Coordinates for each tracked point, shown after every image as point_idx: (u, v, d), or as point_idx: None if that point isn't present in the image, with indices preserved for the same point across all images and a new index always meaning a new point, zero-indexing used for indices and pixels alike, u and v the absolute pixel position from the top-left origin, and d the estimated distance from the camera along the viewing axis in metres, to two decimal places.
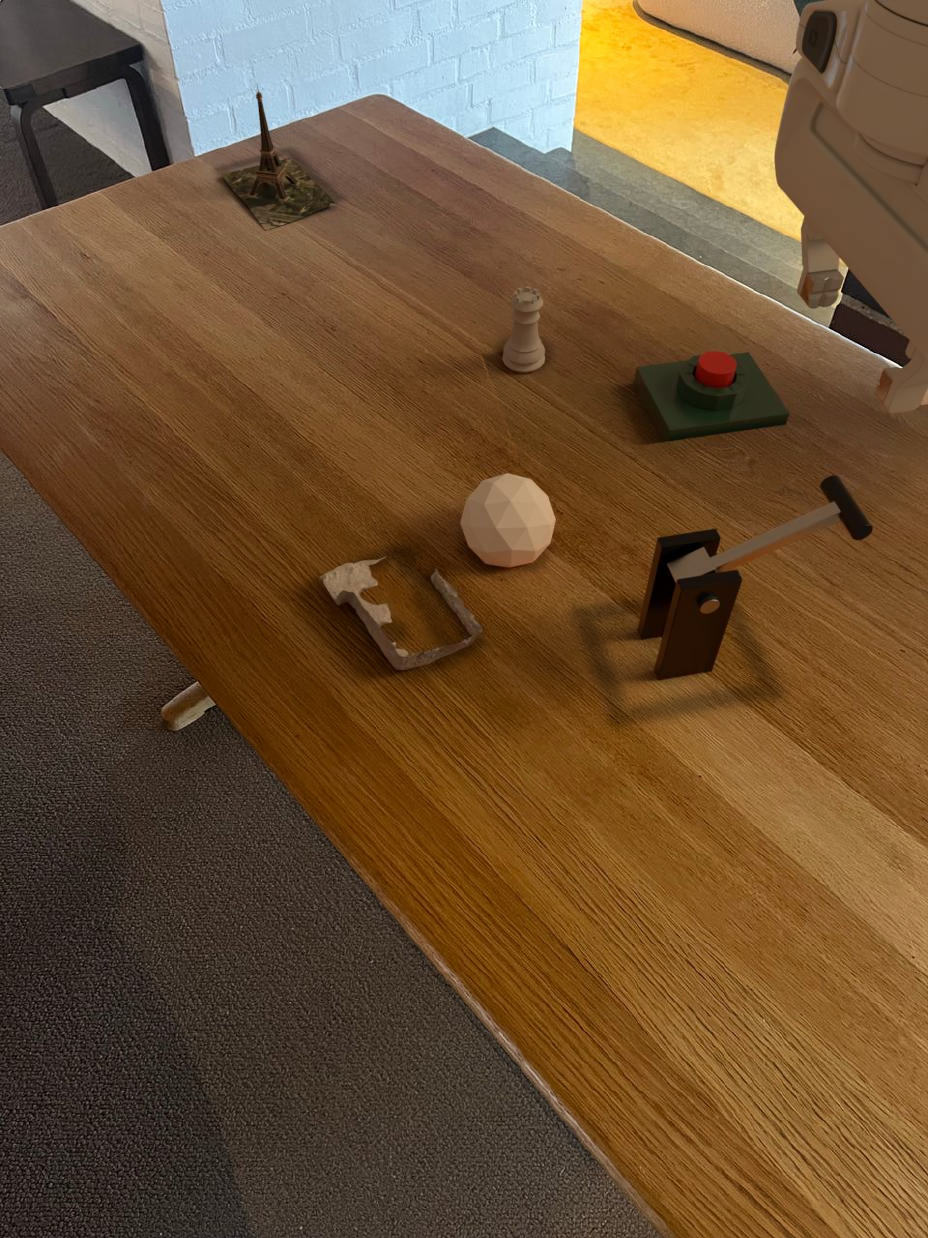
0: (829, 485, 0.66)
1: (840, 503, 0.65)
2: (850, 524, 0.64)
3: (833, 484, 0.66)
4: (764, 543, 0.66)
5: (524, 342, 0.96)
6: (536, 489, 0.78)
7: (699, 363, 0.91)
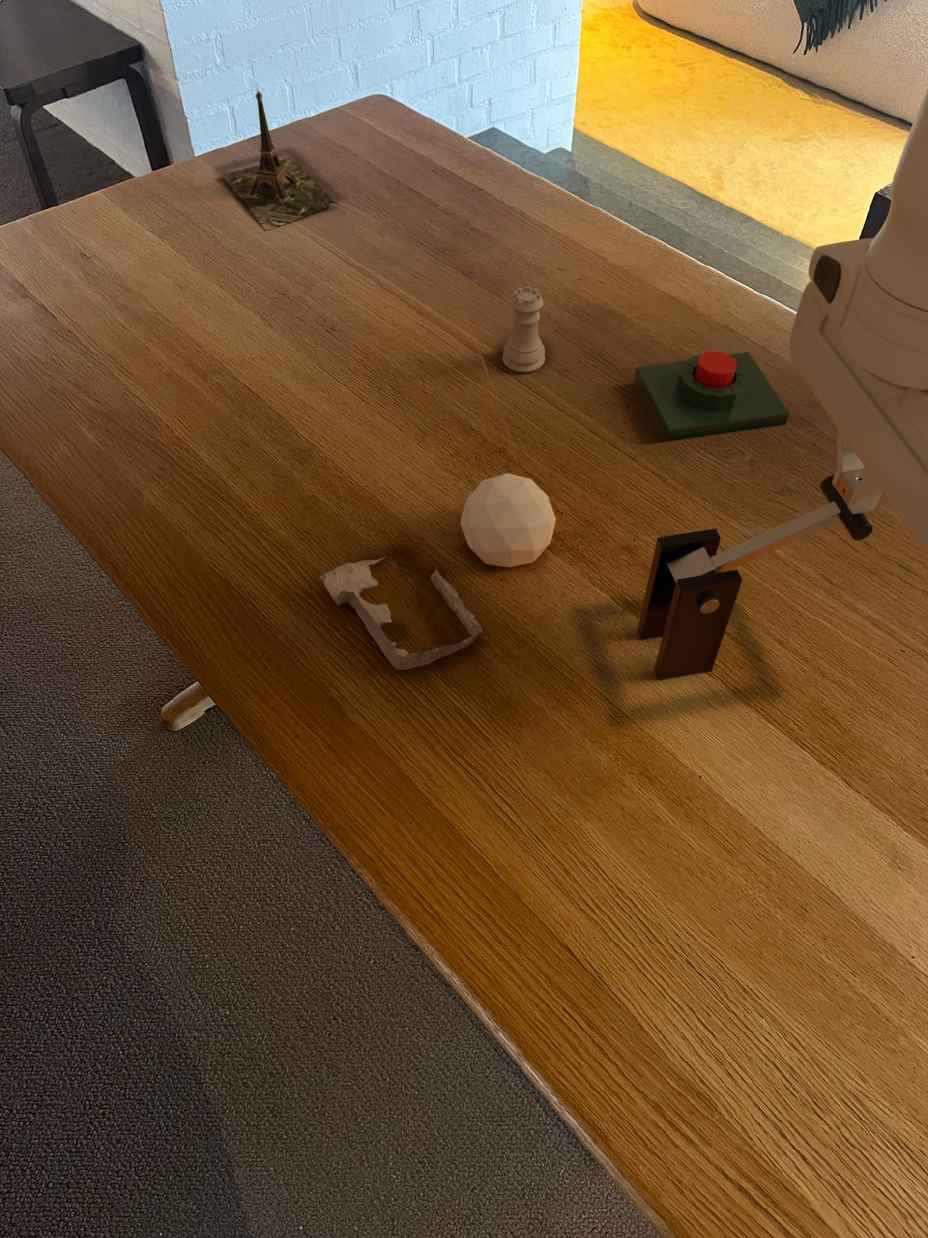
0: (829, 485, 0.66)
1: (840, 503, 0.65)
2: (850, 524, 0.64)
3: None
4: (764, 543, 0.66)
5: (524, 342, 0.96)
6: (536, 489, 0.78)
7: (699, 363, 0.91)
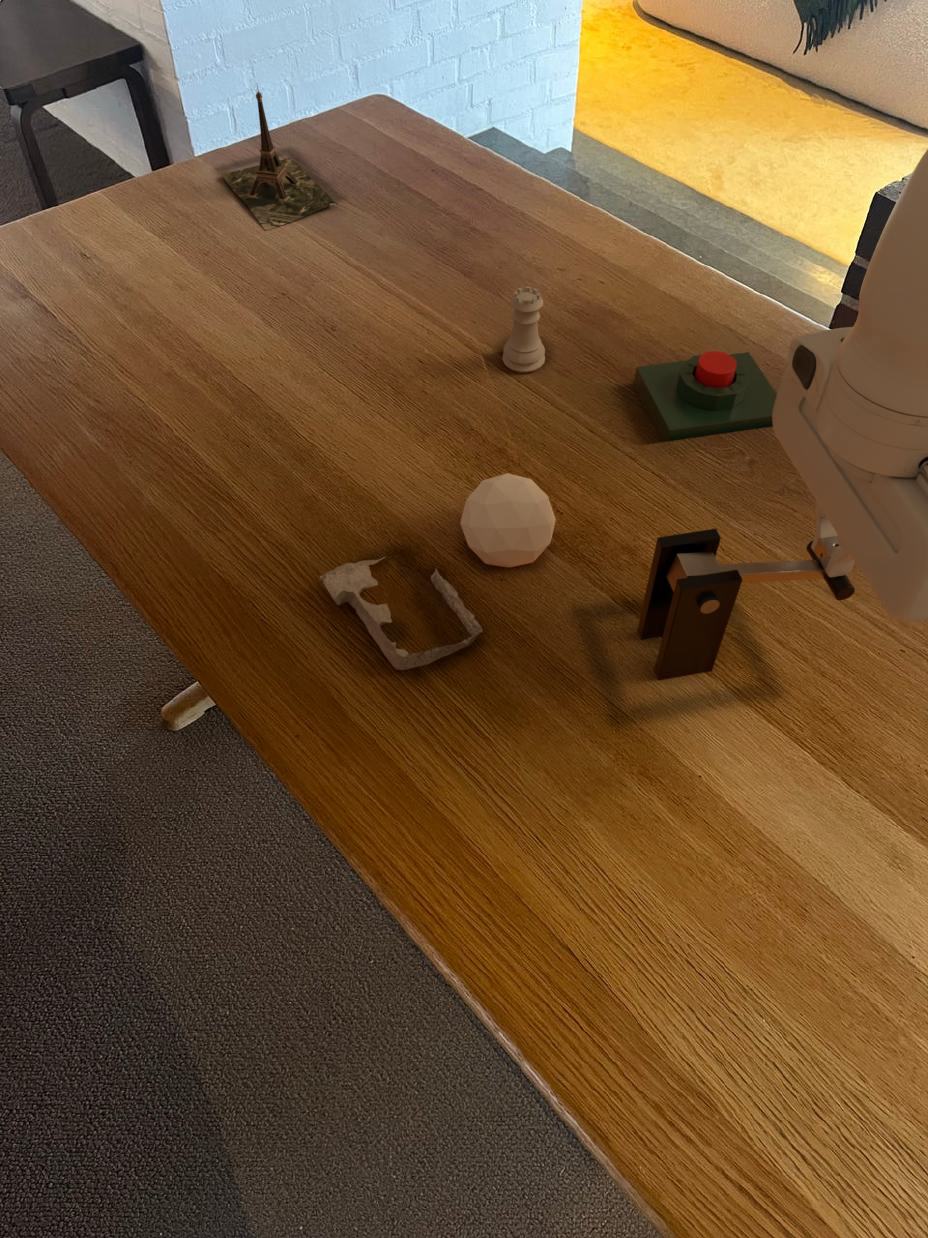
0: None
1: None
2: (838, 582, 0.69)
3: None
4: (763, 570, 0.68)
5: (524, 342, 0.96)
6: (536, 489, 0.78)
7: (699, 363, 0.91)
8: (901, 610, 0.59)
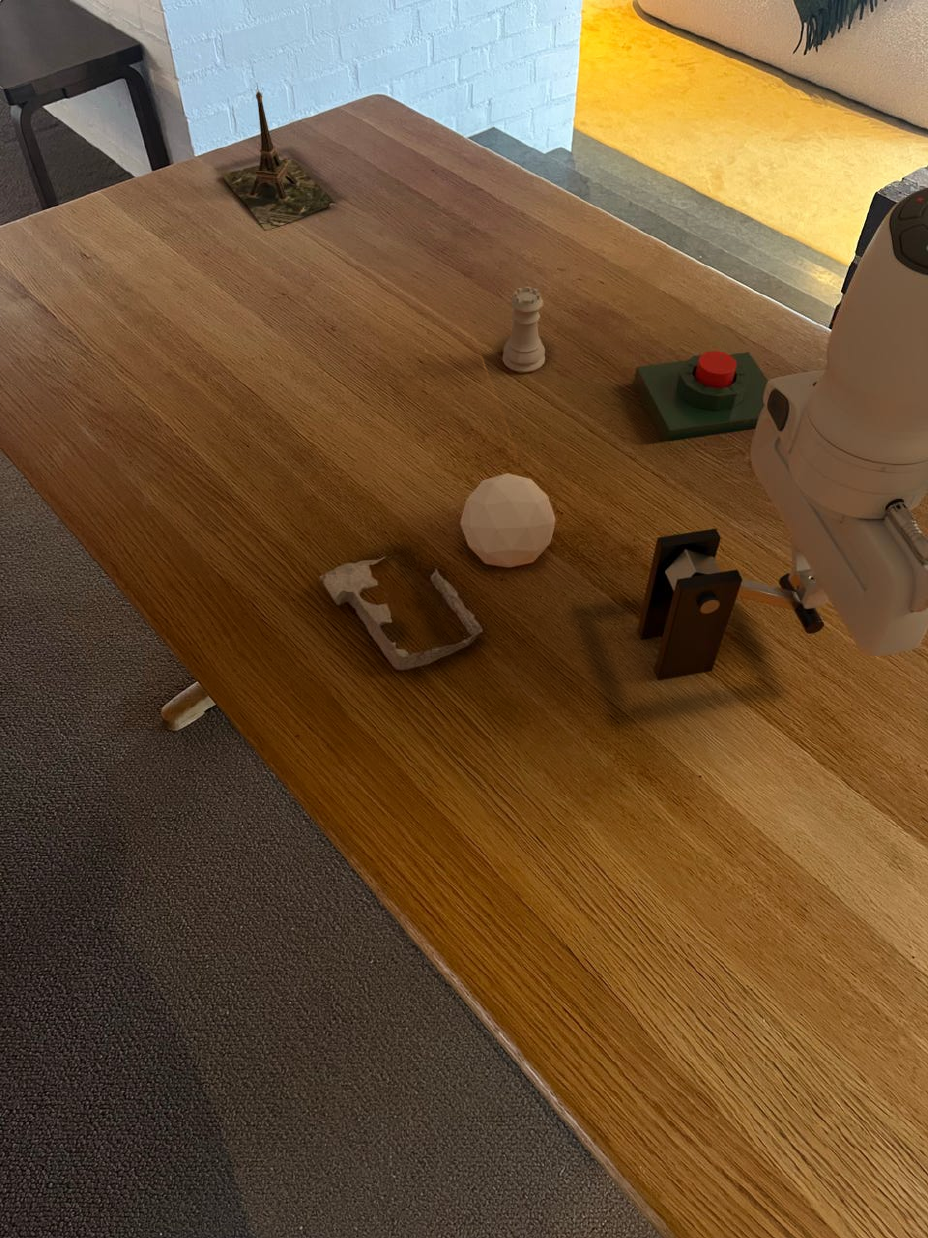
0: None
1: None
2: (811, 615, 0.71)
3: None
4: (752, 587, 0.70)
5: (524, 342, 0.96)
6: (536, 489, 0.78)
7: (699, 363, 0.91)
8: (870, 646, 0.61)
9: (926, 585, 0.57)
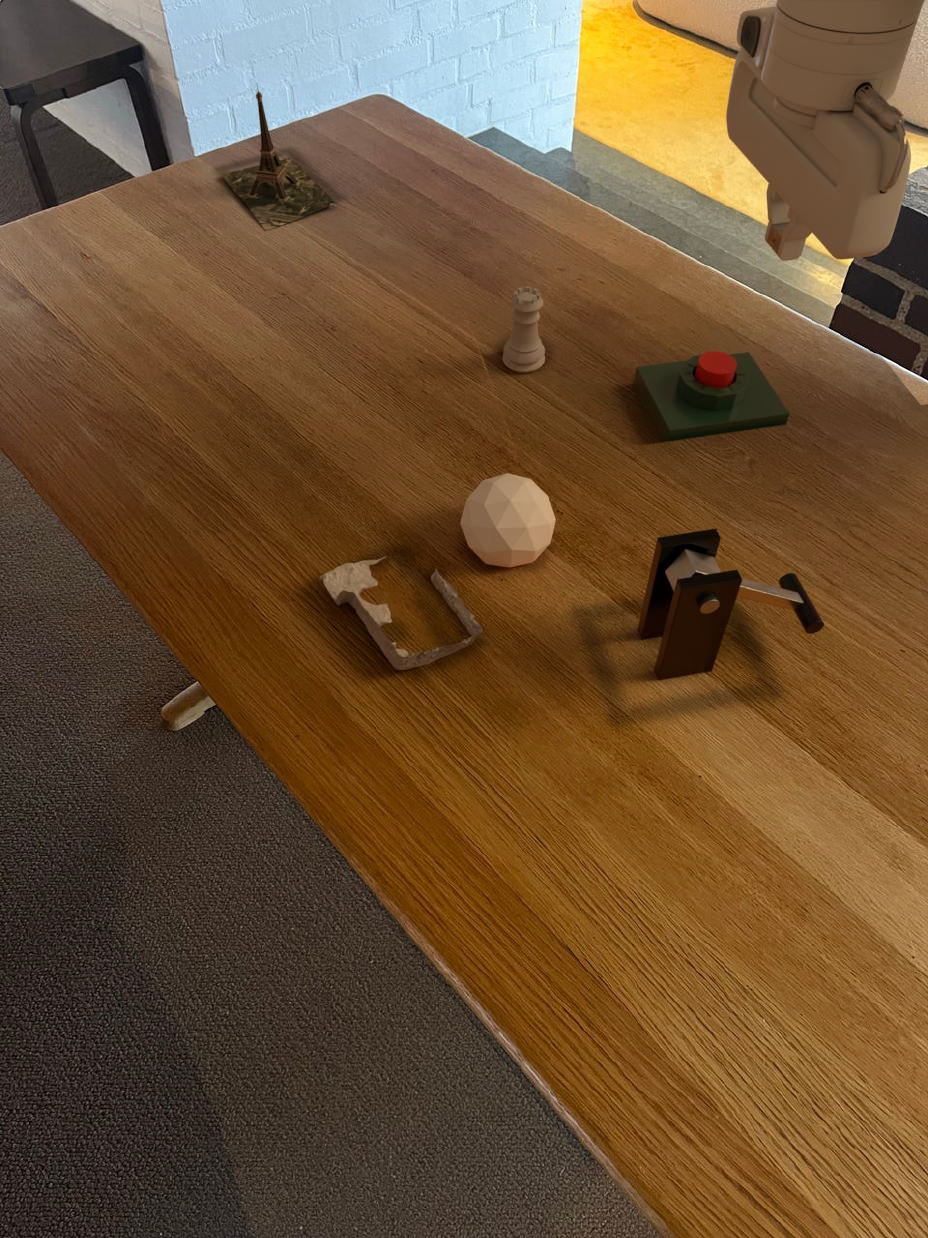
0: (795, 579, 0.74)
1: (802, 596, 0.73)
2: (811, 615, 0.71)
3: (797, 580, 0.74)
4: (752, 587, 0.70)
5: (524, 342, 0.96)
6: (536, 489, 0.78)
7: (699, 363, 0.91)
8: (842, 241, 0.63)
9: (893, 151, 0.59)
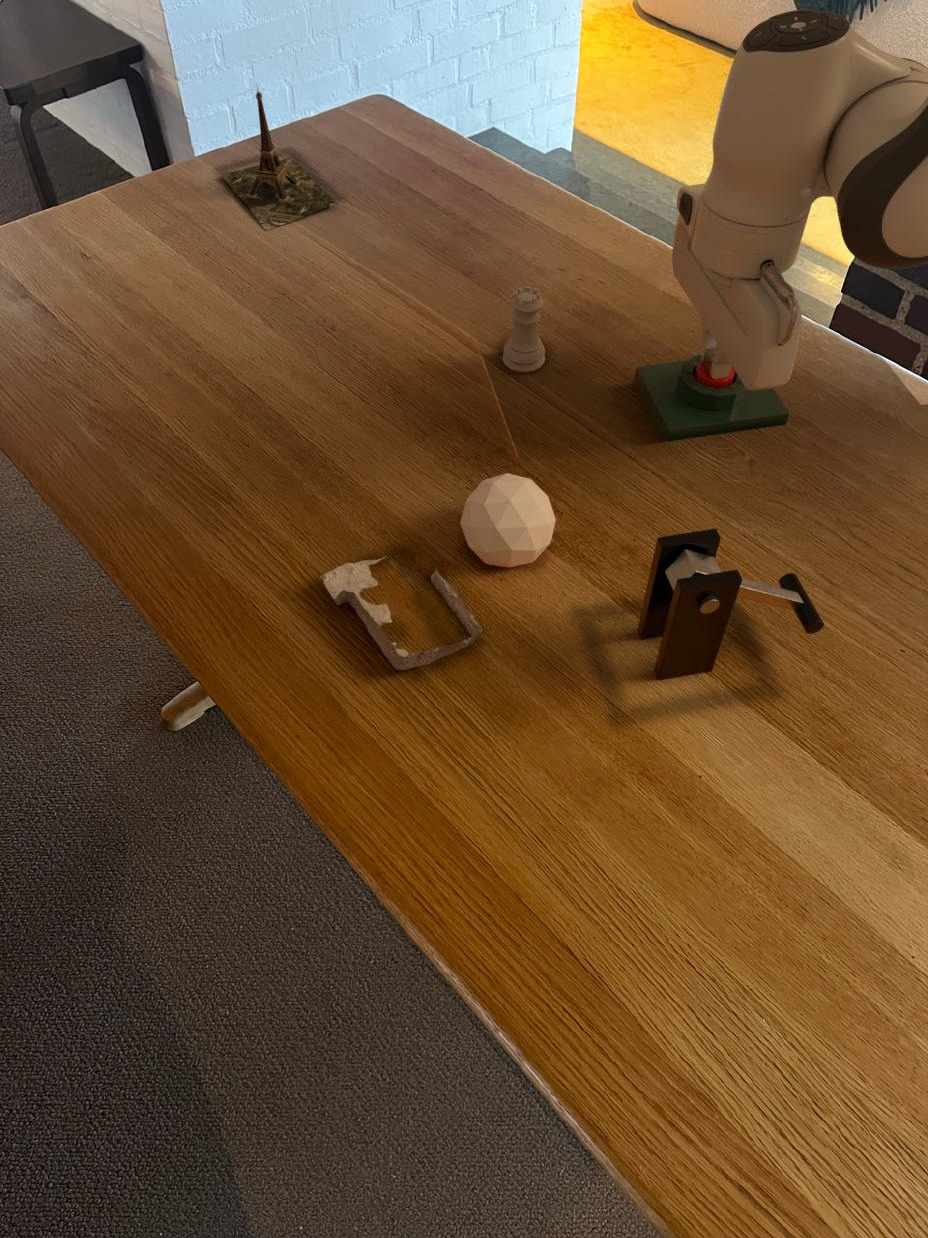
0: (795, 579, 0.74)
1: (802, 596, 0.73)
2: (811, 615, 0.71)
3: (797, 580, 0.74)
4: (752, 587, 0.70)
5: (524, 342, 0.96)
6: (536, 489, 0.78)
7: (697, 371, 0.92)
8: (751, 378, 0.81)
9: (786, 317, 0.76)
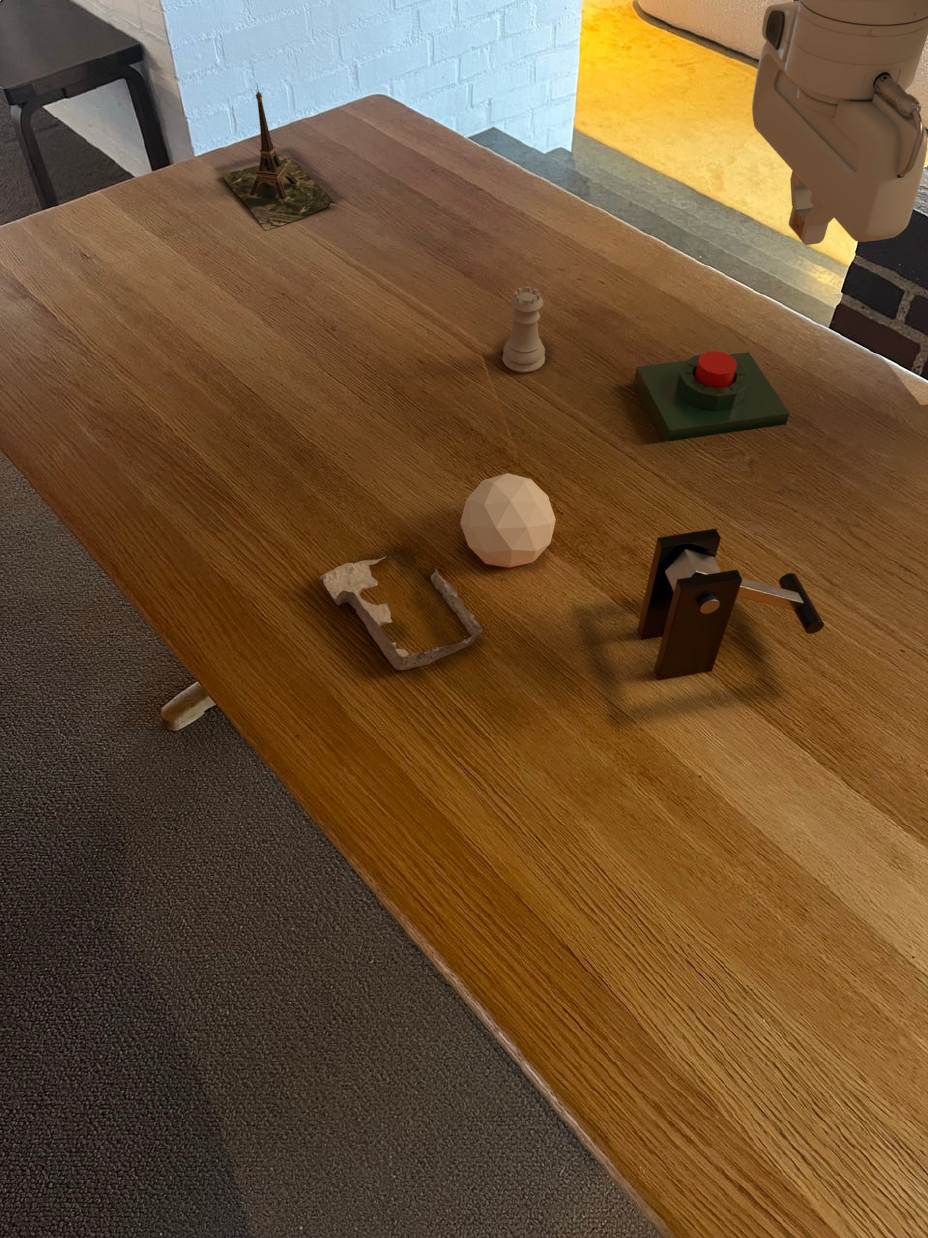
0: (795, 579, 0.74)
1: (802, 596, 0.73)
2: (811, 615, 0.71)
3: (797, 580, 0.74)
4: (752, 587, 0.70)
5: (524, 342, 0.96)
6: (536, 489, 0.78)
7: (699, 363, 0.91)
8: (861, 224, 0.66)
9: (910, 137, 0.62)
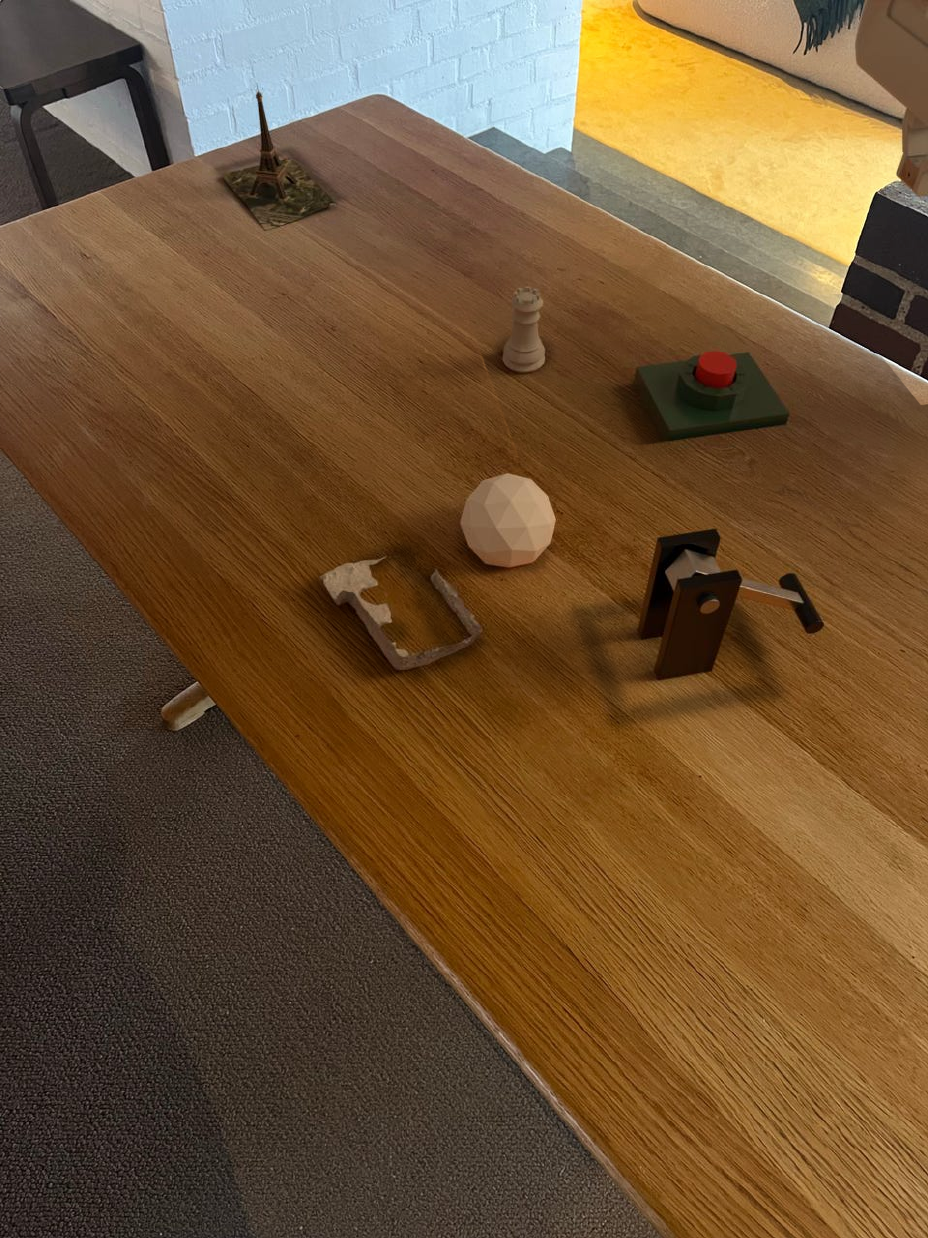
0: (795, 579, 0.74)
1: (802, 596, 0.73)
2: (811, 615, 0.71)
3: (797, 580, 0.74)
4: (752, 587, 0.70)
5: (524, 342, 0.96)
6: (536, 489, 0.78)
7: (699, 363, 0.91)
8: None
9: None
